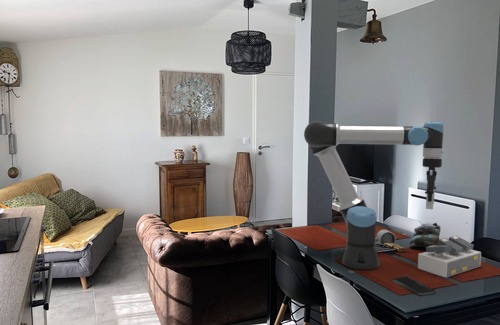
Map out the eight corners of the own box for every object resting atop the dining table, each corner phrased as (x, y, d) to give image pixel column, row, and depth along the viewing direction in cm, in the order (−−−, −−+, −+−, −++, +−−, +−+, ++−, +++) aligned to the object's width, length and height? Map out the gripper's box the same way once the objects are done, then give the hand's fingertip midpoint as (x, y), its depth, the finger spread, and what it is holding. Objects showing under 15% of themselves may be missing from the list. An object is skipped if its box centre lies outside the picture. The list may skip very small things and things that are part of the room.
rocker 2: (462, 252, 158) (463, 247, 157) (454, 254, 155) (456, 249, 155) (444, 242, 164) (445, 237, 164) (437, 243, 162) (438, 239, 161)
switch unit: (446, 277, 149) (447, 258, 148) (417, 268, 159) (418, 250, 159) (481, 266, 161) (482, 248, 160) (452, 258, 171) (453, 241, 171)
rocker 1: (452, 250, 153) (451, 244, 154) (444, 252, 151) (443, 246, 151) (434, 250, 160) (433, 245, 160) (426, 252, 158) (425, 247, 158)
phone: (419, 294, 132) (390, 278, 146) (419, 297, 132) (390, 281, 146) (437, 291, 135) (407, 275, 149) (437, 294, 135) (407, 278, 149)
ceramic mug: (390, 242, 195) (390, 227, 195) (396, 247, 187) (396, 232, 187) (369, 243, 196) (369, 228, 195) (374, 248, 187) (374, 232, 187)
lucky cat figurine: (403, 246, 189) (405, 219, 194) (420, 253, 193) (422, 226, 198) (429, 245, 176) (431, 215, 181) (447, 252, 181) (448, 223, 186)
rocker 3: (472, 249, 162) (474, 244, 161) (465, 251, 159) (467, 246, 158) (454, 239, 168) (456, 235, 167) (447, 241, 165) (449, 236, 165)
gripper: (441, 160, 156) (438, 212, 158) (442, 156, 178) (440, 202, 180) (421, 159, 159) (418, 210, 161) (424, 156, 181) (422, 200, 183)
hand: (430, 206), depth 170 cm, fingers open, 13 cm apart
